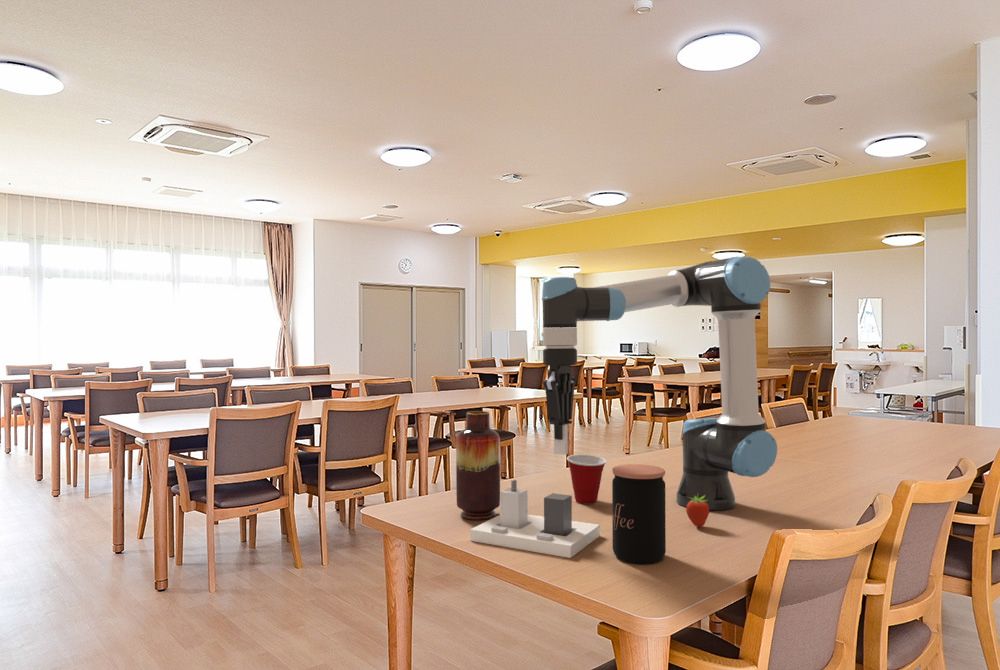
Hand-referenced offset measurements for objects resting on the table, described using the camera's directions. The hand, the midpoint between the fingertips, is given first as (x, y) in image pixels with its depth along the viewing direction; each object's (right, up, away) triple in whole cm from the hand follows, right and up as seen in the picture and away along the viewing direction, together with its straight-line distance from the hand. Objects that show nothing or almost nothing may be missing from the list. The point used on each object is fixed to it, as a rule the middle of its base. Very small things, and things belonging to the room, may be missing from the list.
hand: (560, 453), depth 147 cm
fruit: (+33, -19, +10) cm, 40 cm away
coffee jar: (+15, -20, -11) cm, 27 cm away
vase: (-19, -20, +21) cm, 34 cm away
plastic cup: (+10, -20, +34) cm, 41 cm away
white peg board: (-5, -19, +2) cm, 20 cm away
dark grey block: (-1, -19, -1) cm, 19 cm away
